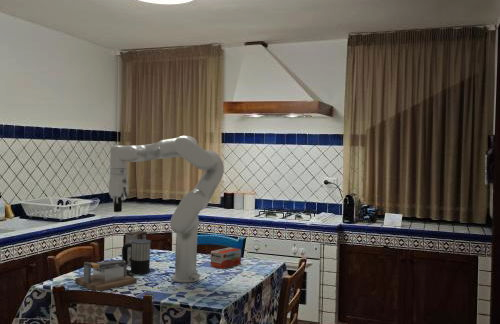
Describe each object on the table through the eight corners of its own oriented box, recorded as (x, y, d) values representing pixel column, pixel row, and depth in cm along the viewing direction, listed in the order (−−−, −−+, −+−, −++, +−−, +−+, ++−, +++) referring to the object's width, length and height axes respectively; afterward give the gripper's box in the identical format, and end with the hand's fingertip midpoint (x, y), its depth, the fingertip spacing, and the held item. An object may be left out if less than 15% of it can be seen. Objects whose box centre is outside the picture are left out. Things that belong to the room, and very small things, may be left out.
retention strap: (120, 261, 222) (120, 259, 222) (127, 264, 218) (127, 261, 218) (86, 266, 210) (86, 263, 210) (92, 268, 206) (93, 265, 206)
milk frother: (151, 269, 239) (151, 239, 239) (148, 278, 224) (149, 245, 223) (121, 269, 238) (121, 239, 237) (116, 278, 222) (117, 245, 221)
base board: (136, 283, 215) (136, 278, 215) (97, 291, 201) (97, 287, 201) (113, 275, 227) (114, 270, 227) (75, 282, 213) (75, 278, 213)
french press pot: (139, 261, 255) (139, 230, 255) (146, 263, 251) (147, 231, 251) (124, 264, 248) (125, 232, 248) (132, 266, 244) (133, 234, 244)
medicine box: (229, 261, 260) (229, 246, 260) (241, 264, 255) (241, 249, 255) (209, 266, 248) (210, 251, 248) (222, 269, 243) (222, 253, 243)
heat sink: (130, 277, 217) (130, 258, 217) (92, 284, 203) (92, 265, 203) (117, 272, 224) (118, 254, 223) (79, 280, 210) (80, 260, 210)
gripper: (134, 172, 225) (133, 212, 226) (116, 171, 235) (115, 209, 236) (120, 173, 220) (119, 214, 220) (102, 171, 230) (101, 210, 230)
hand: (117, 211), depth 228 cm, fingers closed
